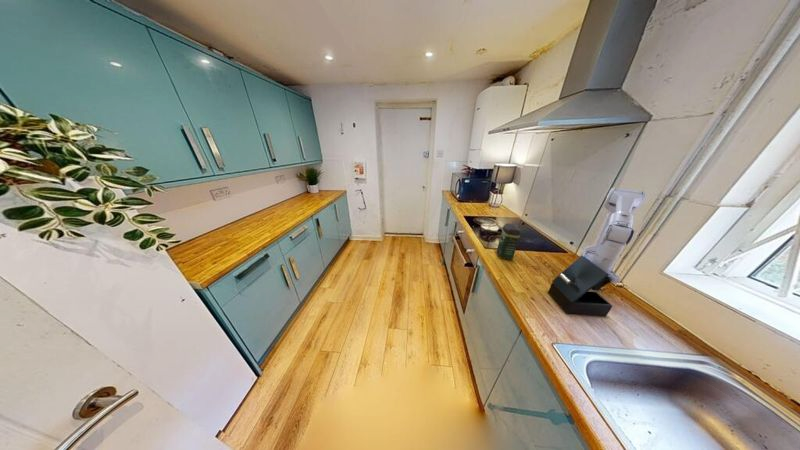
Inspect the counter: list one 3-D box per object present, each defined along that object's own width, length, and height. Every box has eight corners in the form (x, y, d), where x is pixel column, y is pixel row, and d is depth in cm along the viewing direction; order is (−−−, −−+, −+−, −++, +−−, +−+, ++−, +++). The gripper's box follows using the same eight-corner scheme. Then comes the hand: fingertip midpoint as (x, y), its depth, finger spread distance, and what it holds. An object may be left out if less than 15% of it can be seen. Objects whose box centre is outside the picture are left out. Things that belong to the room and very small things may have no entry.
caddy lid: (583, 255, 77) (574, 250, 76) (609, 274, 66) (599, 268, 66) (553, 281, 83) (544, 277, 82) (573, 302, 72) (563, 297, 72)
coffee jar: (514, 261, 106) (524, 230, 99) (499, 259, 108) (507, 228, 100) (509, 251, 115) (517, 222, 107) (494, 250, 116) (502, 221, 108)
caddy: (582, 294, 85) (587, 284, 82) (605, 316, 74) (612, 305, 72) (547, 292, 85) (552, 282, 83) (566, 314, 75) (572, 303, 72)
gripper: (579, 245, 79) (566, 272, 85) (612, 267, 66) (594, 298, 71) (597, 246, 79) (583, 273, 84) (634, 269, 66) (614, 299, 71)
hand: (589, 285), depth 78 cm, fingers closed on scrap block, 4 cm apart
